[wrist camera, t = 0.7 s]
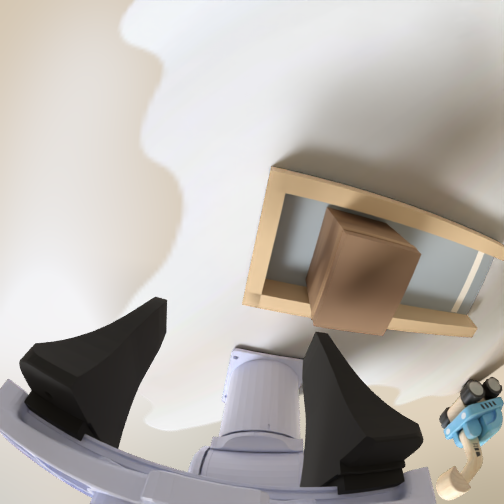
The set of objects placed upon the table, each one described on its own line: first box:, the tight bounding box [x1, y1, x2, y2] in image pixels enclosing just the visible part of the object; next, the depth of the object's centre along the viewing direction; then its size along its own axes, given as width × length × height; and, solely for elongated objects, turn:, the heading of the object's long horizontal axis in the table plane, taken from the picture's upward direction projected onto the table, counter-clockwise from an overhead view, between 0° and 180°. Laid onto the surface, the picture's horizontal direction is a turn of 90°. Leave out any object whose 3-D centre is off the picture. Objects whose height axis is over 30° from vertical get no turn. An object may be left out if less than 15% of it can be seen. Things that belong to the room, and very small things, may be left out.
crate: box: [305, 207, 421, 336], centre depth 17 cm, size 6×5×6 cm
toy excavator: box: [436, 377, 504, 500], centre depth 20 cm, size 9×17×17 cm, turn 82°
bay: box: [242, 166, 504, 337], centre depth 19 cm, size 10×24×3 cm, turn 79°
